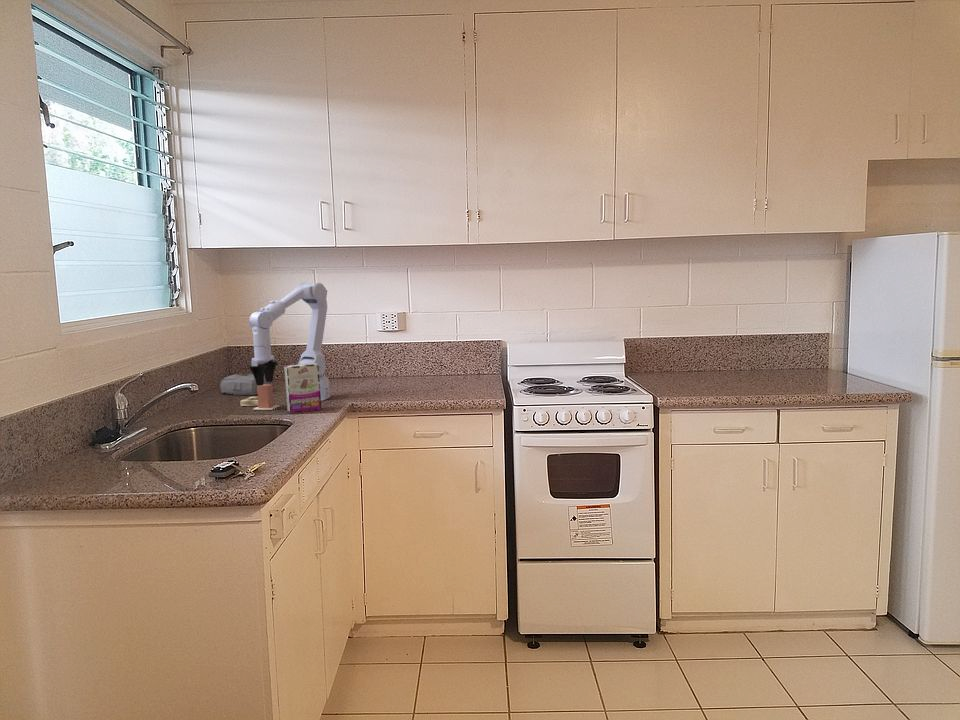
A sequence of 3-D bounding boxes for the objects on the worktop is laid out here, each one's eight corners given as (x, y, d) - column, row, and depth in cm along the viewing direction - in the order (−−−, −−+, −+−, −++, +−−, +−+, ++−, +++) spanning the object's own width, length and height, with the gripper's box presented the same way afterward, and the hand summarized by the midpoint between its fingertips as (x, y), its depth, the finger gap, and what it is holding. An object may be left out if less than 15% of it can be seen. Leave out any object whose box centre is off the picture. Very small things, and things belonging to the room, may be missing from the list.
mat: (279, 407, 261) (279, 405, 261) (271, 410, 255) (271, 408, 255) (261, 406, 262) (260, 405, 262) (253, 410, 256) (252, 408, 256)
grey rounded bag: (275, 391, 297) (237, 389, 305) (274, 371, 296) (236, 369, 304) (250, 397, 284) (211, 395, 292) (248, 376, 283) (209, 374, 291)
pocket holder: (272, 402, 271) (272, 396, 270) (262, 406, 262) (262, 400, 262) (251, 402, 272) (250, 396, 272) (240, 406, 264) (240, 400, 263)
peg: (273, 406, 260) (272, 384, 259) (269, 408, 256) (267, 386, 255) (263, 406, 261) (261, 384, 260) (258, 408, 257) (256, 386, 256)
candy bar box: (318, 407, 258) (315, 362, 256) (321, 410, 253) (319, 363, 251) (286, 411, 253) (283, 365, 251) (289, 413, 248) (286, 366, 246)
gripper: (260, 343, 263) (263, 380, 265) (242, 348, 249) (244, 387, 251) (278, 343, 262) (281, 380, 264) (261, 348, 248) (264, 386, 250)
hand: (264, 383), depth 257 cm, fingers open, 7 cm apart
